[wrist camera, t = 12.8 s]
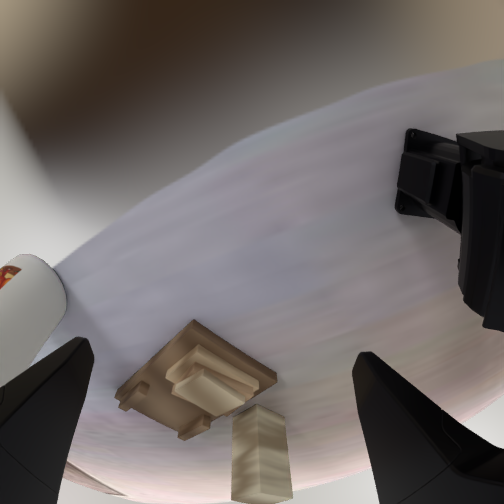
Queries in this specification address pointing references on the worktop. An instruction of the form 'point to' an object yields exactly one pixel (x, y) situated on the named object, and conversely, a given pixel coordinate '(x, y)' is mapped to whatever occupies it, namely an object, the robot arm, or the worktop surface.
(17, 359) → the milk bottle
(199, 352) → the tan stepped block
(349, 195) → the worktop surface
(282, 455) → the beige rectangular block
